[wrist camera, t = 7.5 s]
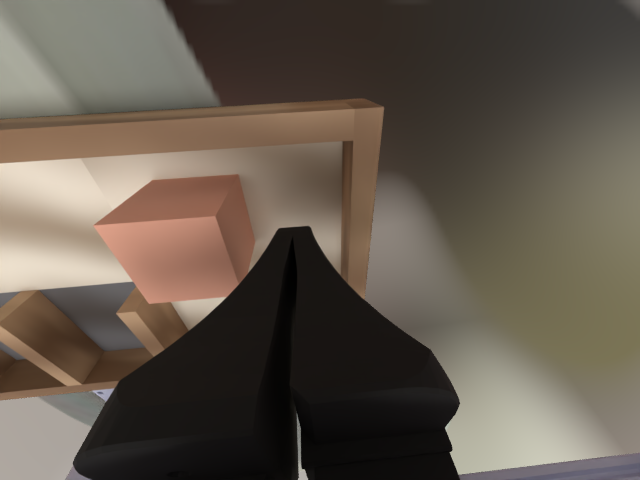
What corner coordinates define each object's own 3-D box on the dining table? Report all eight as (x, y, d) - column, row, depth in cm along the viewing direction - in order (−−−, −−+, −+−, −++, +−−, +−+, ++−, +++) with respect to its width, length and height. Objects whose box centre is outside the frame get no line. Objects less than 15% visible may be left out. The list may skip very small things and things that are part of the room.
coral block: (255, 241, 14) (242, 295, 10) (184, 247, 13) (148, 304, 10) (238, 174, 11) (215, 216, 8) (152, 180, 11) (93, 225, 8)
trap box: (350, 327, 20) (357, 362, 18) (20, 360, 19) (-20, 402, 17) (363, 98, 10) (384, 107, 8) (-320, 137, 9) (-537, 162, 7)
